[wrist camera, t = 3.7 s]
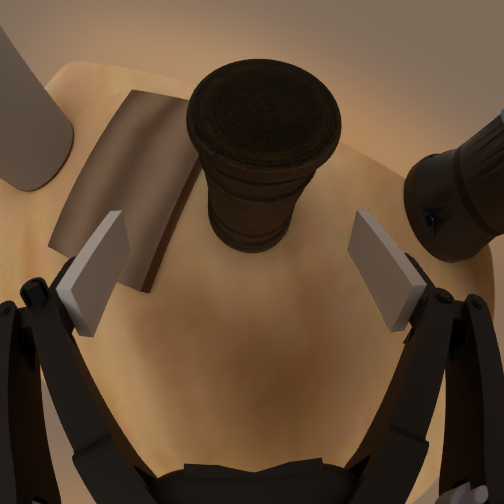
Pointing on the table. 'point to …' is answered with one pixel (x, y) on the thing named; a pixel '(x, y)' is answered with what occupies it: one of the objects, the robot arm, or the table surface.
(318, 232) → the table surface
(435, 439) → the table surface
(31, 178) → the cylinder vase
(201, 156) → the container
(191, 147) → the shelf board
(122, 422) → the table surface
